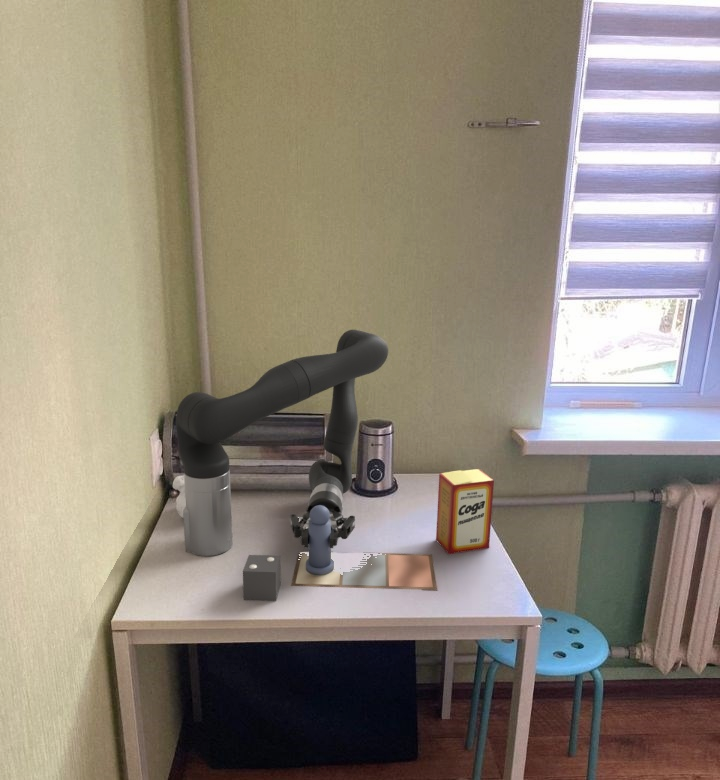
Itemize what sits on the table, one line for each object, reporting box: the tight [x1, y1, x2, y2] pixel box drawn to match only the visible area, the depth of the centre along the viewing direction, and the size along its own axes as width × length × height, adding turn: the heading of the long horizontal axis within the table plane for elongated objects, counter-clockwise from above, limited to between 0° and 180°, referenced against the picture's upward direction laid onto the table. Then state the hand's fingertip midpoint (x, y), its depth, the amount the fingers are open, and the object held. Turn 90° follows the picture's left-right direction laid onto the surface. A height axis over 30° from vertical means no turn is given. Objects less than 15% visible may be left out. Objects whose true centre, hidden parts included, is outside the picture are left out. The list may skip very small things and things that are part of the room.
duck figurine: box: [172, 474, 186, 519], centre depth 154 cm, size 12×8×11 cm
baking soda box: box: [435, 468, 495, 555], centre depth 142 cm, size 10×6×16 cm
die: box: [242, 554, 282, 602], centre depth 124 cm, size 6×6×6 cm
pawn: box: [306, 505, 334, 575], centre depth 132 cm, size 6×6×14 cm
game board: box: [290, 552, 438, 591], centre depth 133 cm, size 28×14×1 cm, turn 89°
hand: (318, 543), depth 129 cm, fingers closed on pawn, 4 cm apart
